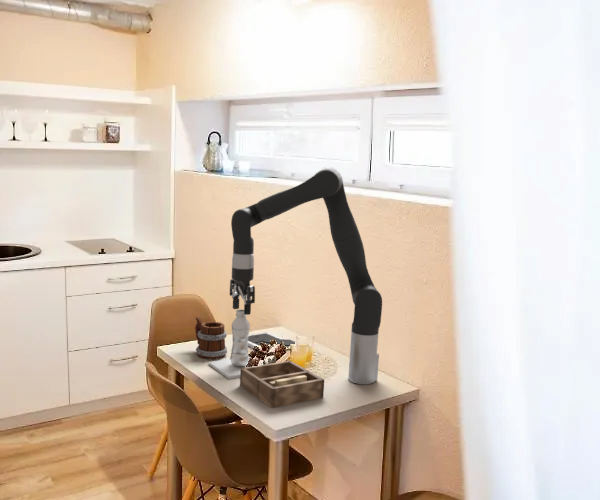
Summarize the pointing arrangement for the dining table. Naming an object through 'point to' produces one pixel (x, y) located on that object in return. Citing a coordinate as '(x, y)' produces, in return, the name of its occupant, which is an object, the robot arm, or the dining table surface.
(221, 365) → the grey plate
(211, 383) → the dining table surface
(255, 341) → the picture frame
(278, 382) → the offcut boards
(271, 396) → the walnut divided box
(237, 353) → the plastic bottle
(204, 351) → the mug
